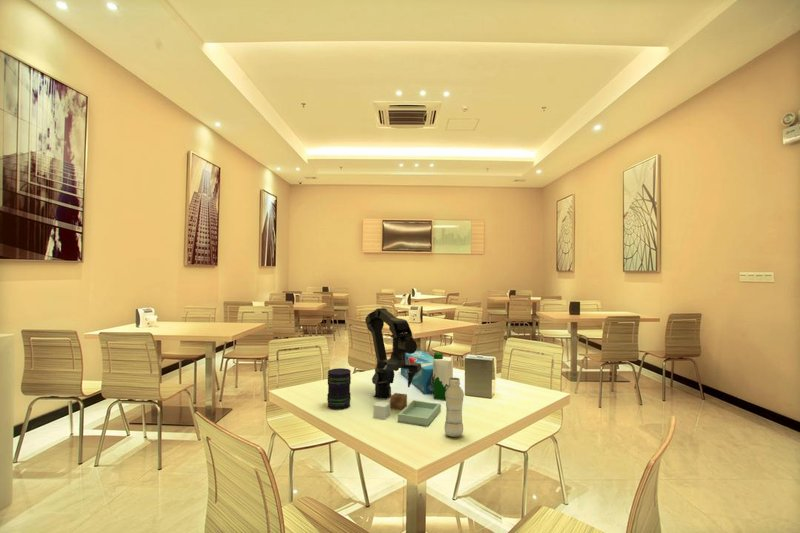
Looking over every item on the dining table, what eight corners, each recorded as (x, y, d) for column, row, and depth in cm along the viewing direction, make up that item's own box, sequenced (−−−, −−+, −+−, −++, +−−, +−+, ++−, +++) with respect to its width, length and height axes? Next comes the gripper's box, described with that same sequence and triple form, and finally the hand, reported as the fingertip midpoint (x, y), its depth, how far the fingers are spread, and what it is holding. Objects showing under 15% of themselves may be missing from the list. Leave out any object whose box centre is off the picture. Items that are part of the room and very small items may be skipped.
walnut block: (390, 408, 166) (390, 396, 166) (395, 404, 171) (395, 392, 171) (402, 410, 164) (402, 398, 164) (406, 406, 169) (406, 394, 169)
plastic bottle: (442, 432, 141) (443, 376, 142) (461, 431, 142) (461, 376, 142) (446, 439, 135) (446, 381, 135) (465, 439, 135) (465, 381, 136)
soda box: (400, 374, 223) (400, 351, 223) (422, 372, 227) (422, 350, 227) (423, 395, 184) (424, 368, 184) (450, 393, 188) (450, 366, 188)
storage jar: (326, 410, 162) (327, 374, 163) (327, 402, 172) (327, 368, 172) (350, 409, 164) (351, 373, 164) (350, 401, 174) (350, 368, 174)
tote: (397, 422, 150) (397, 414, 150) (413, 407, 167) (413, 400, 167) (427, 426, 146) (427, 418, 146) (440, 411, 163) (440, 403, 163)
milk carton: (434, 393, 186) (434, 351, 186) (453, 395, 184) (453, 352, 185) (431, 399, 178) (432, 355, 178) (451, 401, 176) (452, 356, 176)
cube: (373, 418, 155) (373, 405, 155) (378, 413, 159) (378, 401, 159) (385, 419, 153) (385, 406, 153) (390, 415, 158) (390, 403, 158)
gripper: (371, 351, 164) (370, 388, 164) (413, 355, 157) (412, 394, 157) (382, 346, 174) (381, 381, 174) (422, 350, 167) (421, 386, 167)
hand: (398, 385), depth 168 cm, fingers open, 9 cm apart
